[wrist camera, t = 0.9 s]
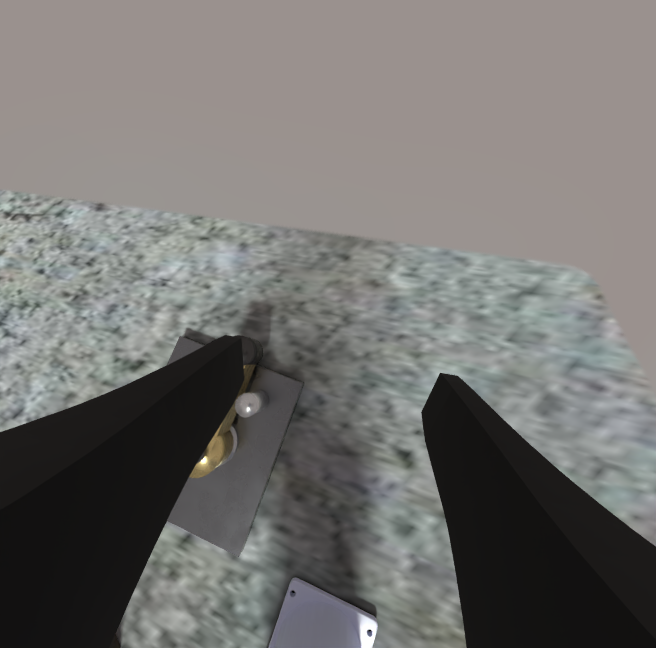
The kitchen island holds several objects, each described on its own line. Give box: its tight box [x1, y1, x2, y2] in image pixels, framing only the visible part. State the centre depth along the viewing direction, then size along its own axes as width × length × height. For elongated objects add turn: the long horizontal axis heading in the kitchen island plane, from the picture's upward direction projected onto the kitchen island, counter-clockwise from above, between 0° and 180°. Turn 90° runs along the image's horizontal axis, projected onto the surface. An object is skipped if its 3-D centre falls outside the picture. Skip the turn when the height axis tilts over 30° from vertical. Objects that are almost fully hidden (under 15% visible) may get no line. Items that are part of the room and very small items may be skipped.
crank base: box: [167, 336, 304, 557], centre depth 22 cm, size 16×14×4 cm
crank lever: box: [189, 336, 263, 478], centre depth 22 cm, size 12×4×3 cm, turn 160°
